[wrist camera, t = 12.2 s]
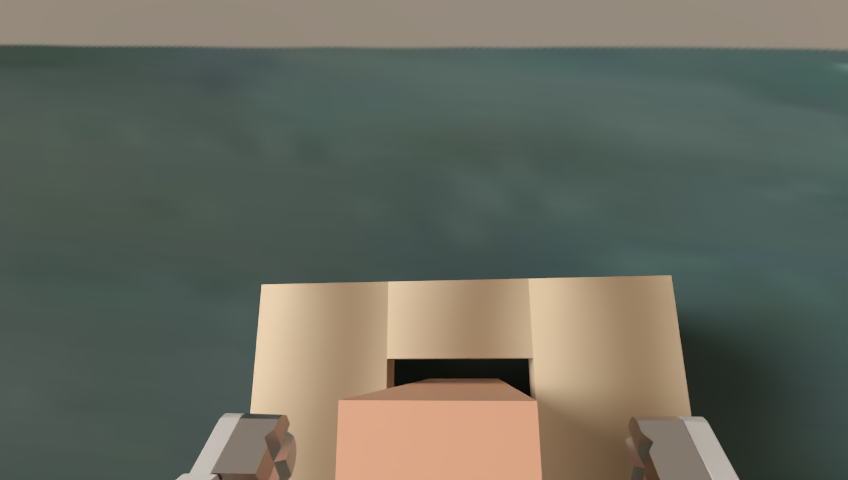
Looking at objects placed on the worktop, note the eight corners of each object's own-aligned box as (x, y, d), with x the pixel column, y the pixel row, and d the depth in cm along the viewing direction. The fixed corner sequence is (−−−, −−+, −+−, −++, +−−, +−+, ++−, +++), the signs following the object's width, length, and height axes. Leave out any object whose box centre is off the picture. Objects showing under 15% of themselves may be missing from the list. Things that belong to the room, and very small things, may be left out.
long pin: (429, 452, 21) (328, 631, 7) (429, 378, 22) (338, 400, 8) (501, 453, 21) (552, 644, 7) (498, 378, 22) (537, 401, 7)
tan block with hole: (311, 532, 21) (232, 611, 14) (323, 308, 24) (261, 284, 17) (638, 544, 19) (723, 637, 13) (612, 303, 22) (671, 275, 15)
